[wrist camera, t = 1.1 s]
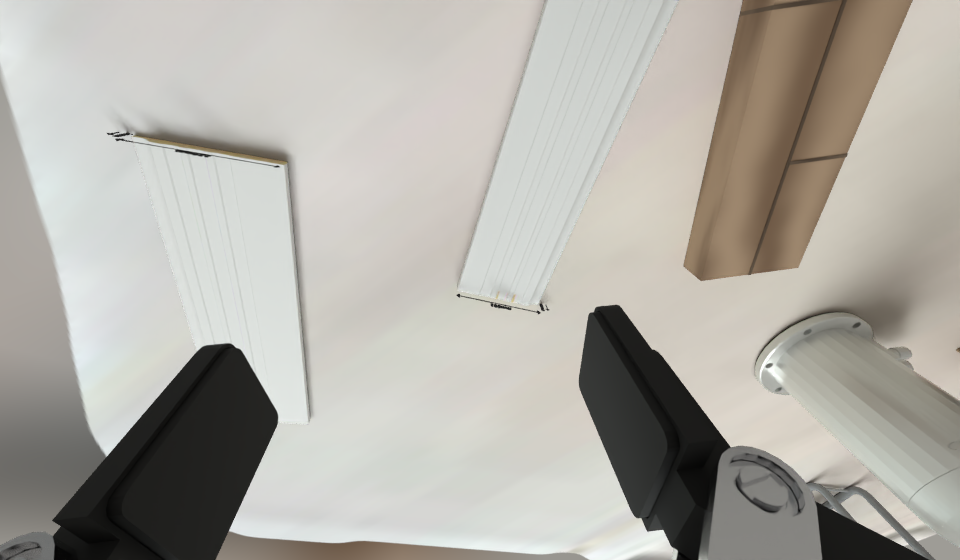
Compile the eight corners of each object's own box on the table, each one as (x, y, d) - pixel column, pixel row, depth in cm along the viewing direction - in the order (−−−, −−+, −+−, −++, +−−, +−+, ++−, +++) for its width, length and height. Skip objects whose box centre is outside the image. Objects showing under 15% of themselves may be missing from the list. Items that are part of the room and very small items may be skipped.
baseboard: (732, -80, 21) (590, -154, 19) (768, -100, 19) (609, -187, 17) (548, 303, 36) (456, 283, 34) (555, 320, 34) (456, 299, 32)
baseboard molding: (206, 406, 41) (313, 413, 43) (190, 428, 38) (304, 434, 40) (118, 128, 25) (292, 159, 27) (81, 135, 23) (276, 168, 24)
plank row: (939, -188, 19) (1010, -226, 17) (773, 253, 34) (798, 268, 31) (779, -165, 19) (827, -199, 17) (683, 266, 34) (701, 281, 31)
